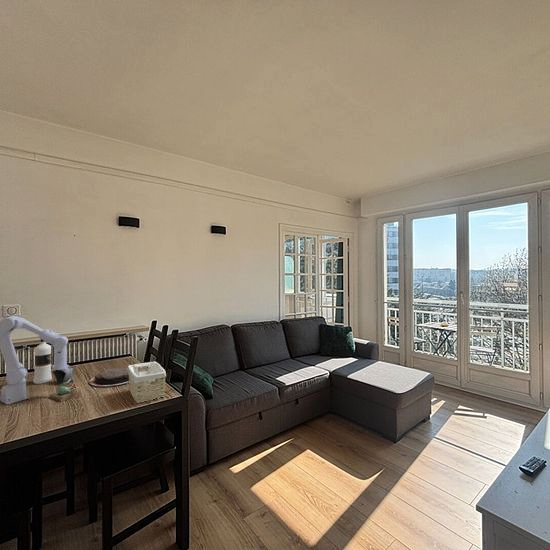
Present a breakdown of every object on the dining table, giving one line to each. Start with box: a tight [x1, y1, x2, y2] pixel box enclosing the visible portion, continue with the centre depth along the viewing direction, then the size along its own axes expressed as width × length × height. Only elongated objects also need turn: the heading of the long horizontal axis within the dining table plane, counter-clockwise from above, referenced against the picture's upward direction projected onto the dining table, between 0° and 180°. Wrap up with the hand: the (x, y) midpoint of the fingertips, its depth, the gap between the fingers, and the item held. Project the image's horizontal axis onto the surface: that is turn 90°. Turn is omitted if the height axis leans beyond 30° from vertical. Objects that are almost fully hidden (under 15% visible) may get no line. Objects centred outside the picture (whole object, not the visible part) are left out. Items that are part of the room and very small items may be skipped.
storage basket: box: [127, 361, 167, 404], centre depth 169 cm, size 24×16×15 cm
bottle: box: [55, 385, 72, 396], centre depth 167 cm, size 4×4×9 cm
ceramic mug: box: [59, 367, 75, 386], centre depth 187 cm, size 11×8×8 cm
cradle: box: [49, 388, 82, 403], centre depth 165 cm, size 10×12×2 cm
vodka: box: [32, 339, 53, 385], centre depth 187 cm, size 9×9×30 cm
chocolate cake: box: [89, 367, 129, 388], centre depth 192 cm, size 28×28×7 cm
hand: (60, 383), depth 168 cm, fingers closed
